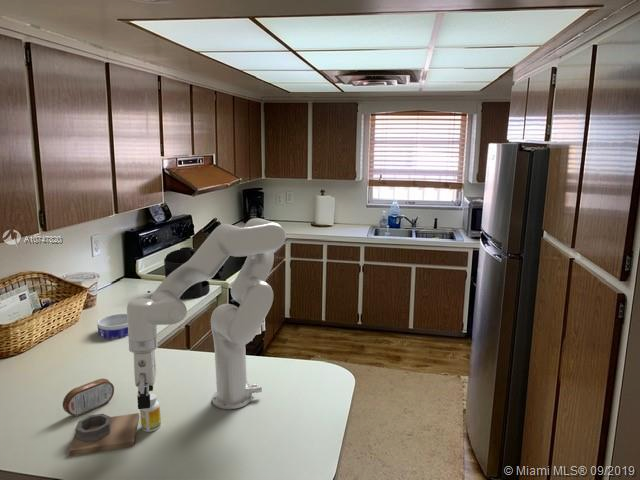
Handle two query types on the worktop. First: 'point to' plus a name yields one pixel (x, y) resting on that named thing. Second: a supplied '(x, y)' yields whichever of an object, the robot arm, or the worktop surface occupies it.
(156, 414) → the supplement bottle
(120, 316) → the dog bowl
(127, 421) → the holder board
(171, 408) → the worktop surface
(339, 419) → the worktop surface
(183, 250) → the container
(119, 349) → the worktop surface
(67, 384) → the worktop surface
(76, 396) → the tin
